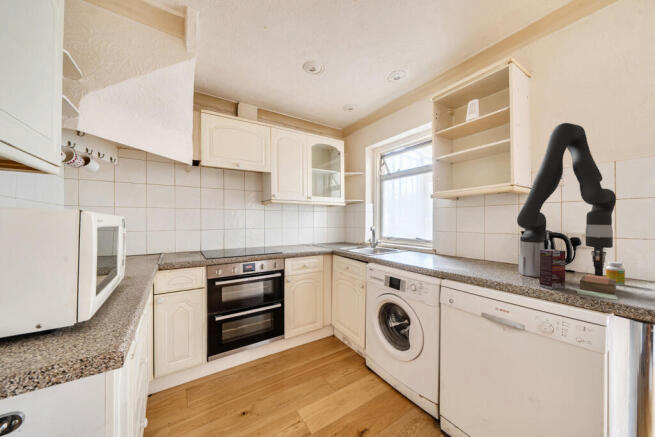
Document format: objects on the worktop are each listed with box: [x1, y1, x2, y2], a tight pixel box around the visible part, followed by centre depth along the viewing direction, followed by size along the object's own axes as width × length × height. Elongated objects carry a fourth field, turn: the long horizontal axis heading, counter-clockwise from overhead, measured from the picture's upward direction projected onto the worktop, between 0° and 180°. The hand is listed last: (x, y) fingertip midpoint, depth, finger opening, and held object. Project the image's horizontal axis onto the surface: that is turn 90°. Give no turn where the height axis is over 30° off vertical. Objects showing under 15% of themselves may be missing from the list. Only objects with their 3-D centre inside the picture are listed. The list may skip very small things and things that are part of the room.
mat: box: [576, 288, 619, 301], centre depth 90 cm, size 10×7×1 cm
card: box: [585, 273, 609, 284], centre depth 94 cm, size 5×6×2 cm
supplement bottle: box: [605, 261, 626, 286], centre depth 106 cm, size 5×5×10 cm
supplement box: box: [538, 248, 567, 290], centre depth 100 cm, size 9×5×16 cm, turn 106°
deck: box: [579, 274, 617, 295], centre depth 97 cm, size 14×9×4 cm, turn 128°
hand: (598, 276), depth 99 cm, fingers closed
